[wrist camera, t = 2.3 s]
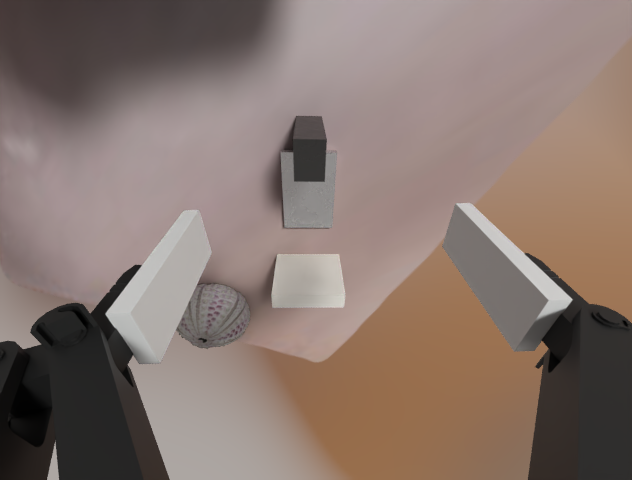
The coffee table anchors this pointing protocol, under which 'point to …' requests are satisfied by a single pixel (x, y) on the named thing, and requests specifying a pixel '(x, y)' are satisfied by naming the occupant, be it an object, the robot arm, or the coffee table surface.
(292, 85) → the coffee table surface
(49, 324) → the robot arm
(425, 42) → the coffee table surface
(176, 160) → the coffee table surface
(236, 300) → the sea urchin shell
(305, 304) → the tile
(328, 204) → the grey l-shaped block
